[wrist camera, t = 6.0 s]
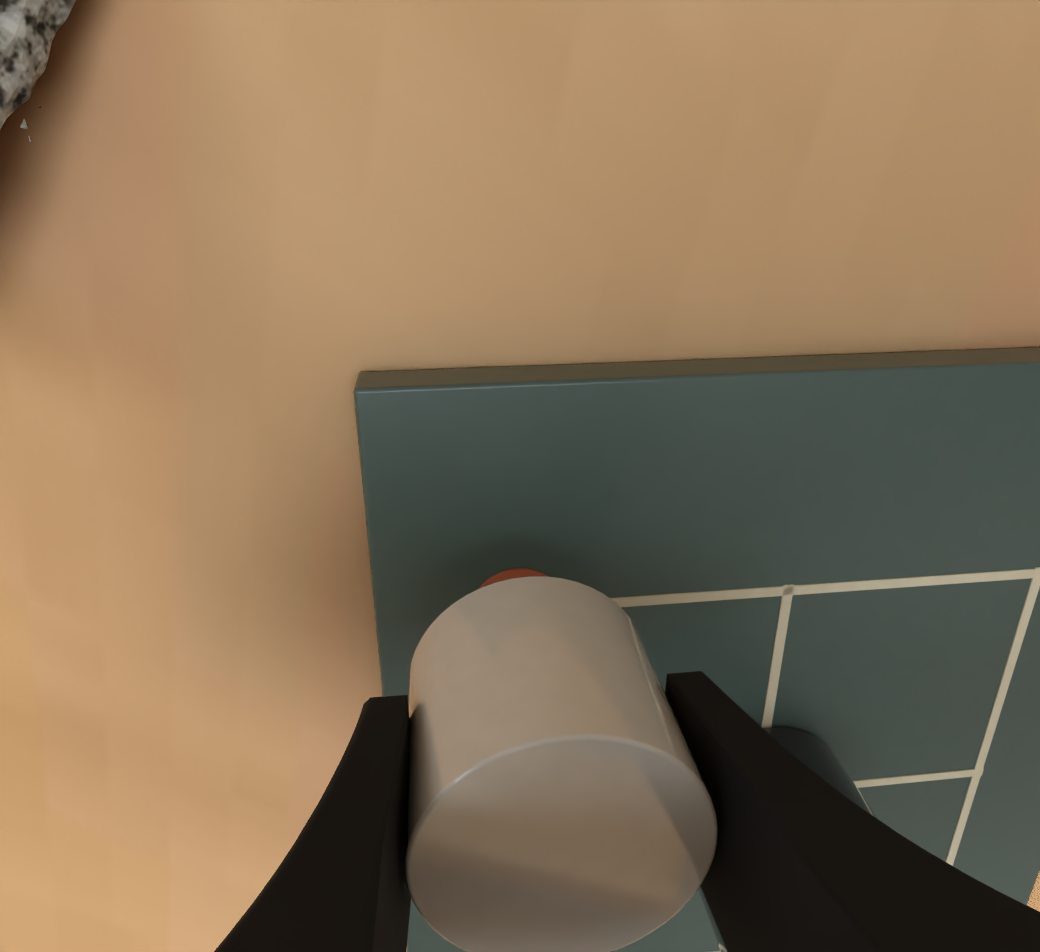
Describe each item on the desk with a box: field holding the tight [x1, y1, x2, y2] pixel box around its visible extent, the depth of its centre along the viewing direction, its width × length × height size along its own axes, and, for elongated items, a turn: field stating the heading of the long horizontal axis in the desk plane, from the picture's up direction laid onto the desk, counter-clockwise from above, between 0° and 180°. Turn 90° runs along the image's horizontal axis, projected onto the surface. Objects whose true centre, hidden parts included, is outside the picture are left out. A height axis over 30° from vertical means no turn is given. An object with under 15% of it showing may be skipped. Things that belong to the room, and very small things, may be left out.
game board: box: [354, 347, 1040, 952], centre depth 20 cm, size 18×22×1 cm
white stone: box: [405, 576, 718, 952], centre depth 12 cm, size 4×4×4 cm
